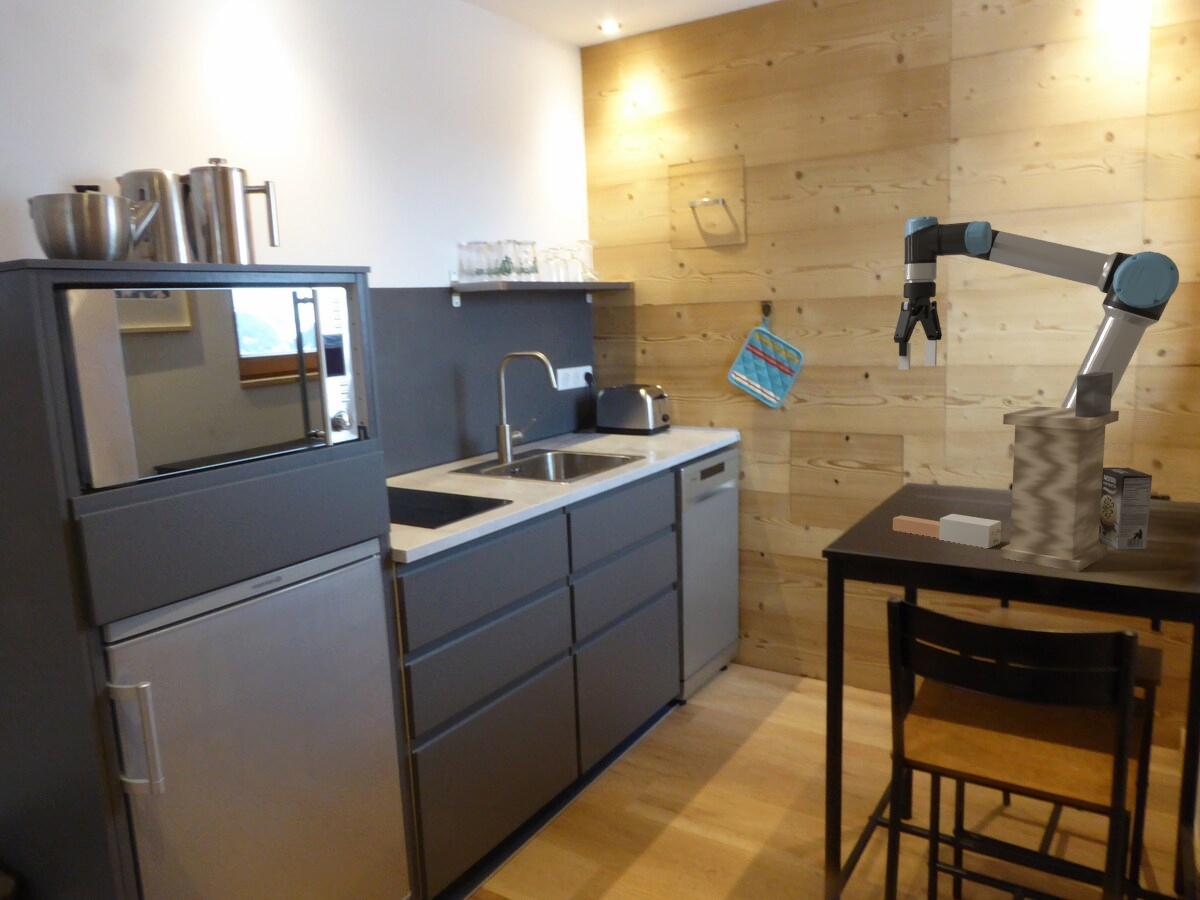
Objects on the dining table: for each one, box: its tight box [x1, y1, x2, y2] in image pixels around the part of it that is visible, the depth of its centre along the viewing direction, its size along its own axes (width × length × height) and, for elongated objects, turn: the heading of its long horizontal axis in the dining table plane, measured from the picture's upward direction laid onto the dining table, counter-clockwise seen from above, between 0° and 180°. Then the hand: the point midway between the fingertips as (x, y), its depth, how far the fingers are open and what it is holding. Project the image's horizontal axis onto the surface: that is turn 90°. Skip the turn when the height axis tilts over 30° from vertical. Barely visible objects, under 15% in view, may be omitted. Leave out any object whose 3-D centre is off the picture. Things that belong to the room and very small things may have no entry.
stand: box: [999, 372, 1120, 573], centre depth 178 cm, size 16×17×38 cm
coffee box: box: [1099, 466, 1153, 551], centre depth 187 cm, size 9×6×16 cm
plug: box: [892, 513, 1003, 549], centre depth 198 cm, size 24×6×5 cm, turn 43°
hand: (917, 367), depth 219 cm, fingers open, 13 cm apart
